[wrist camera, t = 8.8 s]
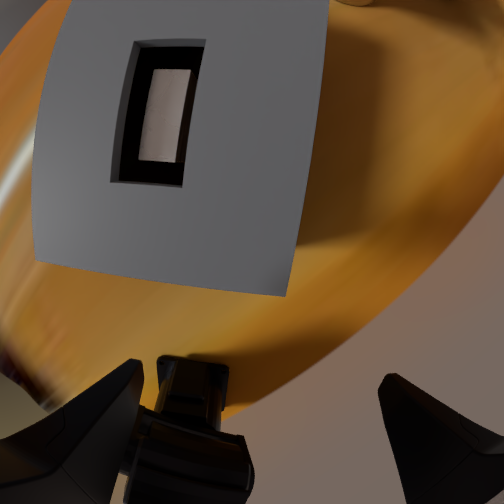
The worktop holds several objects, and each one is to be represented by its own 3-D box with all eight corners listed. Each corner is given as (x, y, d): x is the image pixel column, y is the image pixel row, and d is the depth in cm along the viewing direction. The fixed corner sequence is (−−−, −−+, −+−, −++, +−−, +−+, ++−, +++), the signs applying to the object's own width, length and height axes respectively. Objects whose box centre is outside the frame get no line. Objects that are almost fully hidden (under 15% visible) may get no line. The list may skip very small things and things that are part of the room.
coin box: (270, 251, 20) (285, 296, 13) (89, 229, 19) (35, 260, 12) (301, 39, 15) (329, -10, 8) (116, 31, 14) (75, -6, 7)
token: (191, 162, 18) (174, 162, 13) (163, 159, 17) (138, 159, 13) (203, 92, 16) (191, 69, 11) (175, 90, 16) (154, 69, 11)
